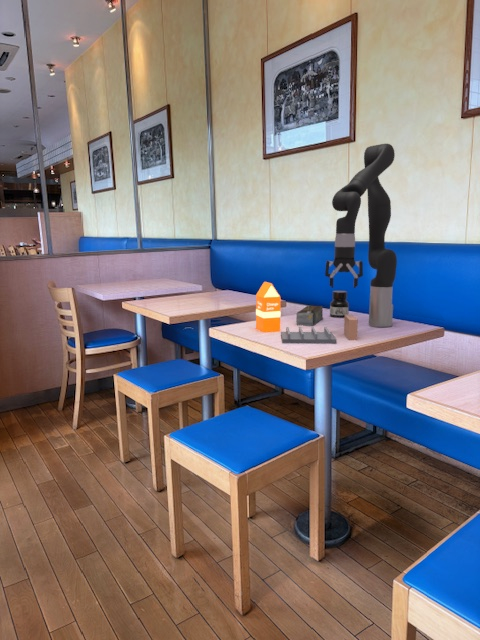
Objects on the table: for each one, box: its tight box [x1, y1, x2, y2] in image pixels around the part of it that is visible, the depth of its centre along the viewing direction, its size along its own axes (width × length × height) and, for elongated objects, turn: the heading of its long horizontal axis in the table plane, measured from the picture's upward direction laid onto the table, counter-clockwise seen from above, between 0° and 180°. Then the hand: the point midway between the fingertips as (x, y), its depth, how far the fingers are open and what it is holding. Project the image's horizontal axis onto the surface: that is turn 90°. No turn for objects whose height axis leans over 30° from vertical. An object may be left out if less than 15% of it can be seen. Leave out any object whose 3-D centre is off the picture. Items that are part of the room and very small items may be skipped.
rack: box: [280, 326, 338, 344], centre depth 185 cm, size 20×13×4 cm, turn 88°
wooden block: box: [343, 314, 358, 341], centre depth 188 cm, size 3×10×8 cm, turn 178°
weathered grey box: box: [295, 305, 324, 327], centre depth 219 cm, size 8×19×7 cm, turn 158°
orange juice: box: [255, 281, 282, 334], centre depth 200 cm, size 8×9×20 cm
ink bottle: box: [329, 290, 350, 318], centre depth 231 cm, size 10×9×12 cm
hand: (343, 287), depth 187 cm, fingers open, 8 cm apart
